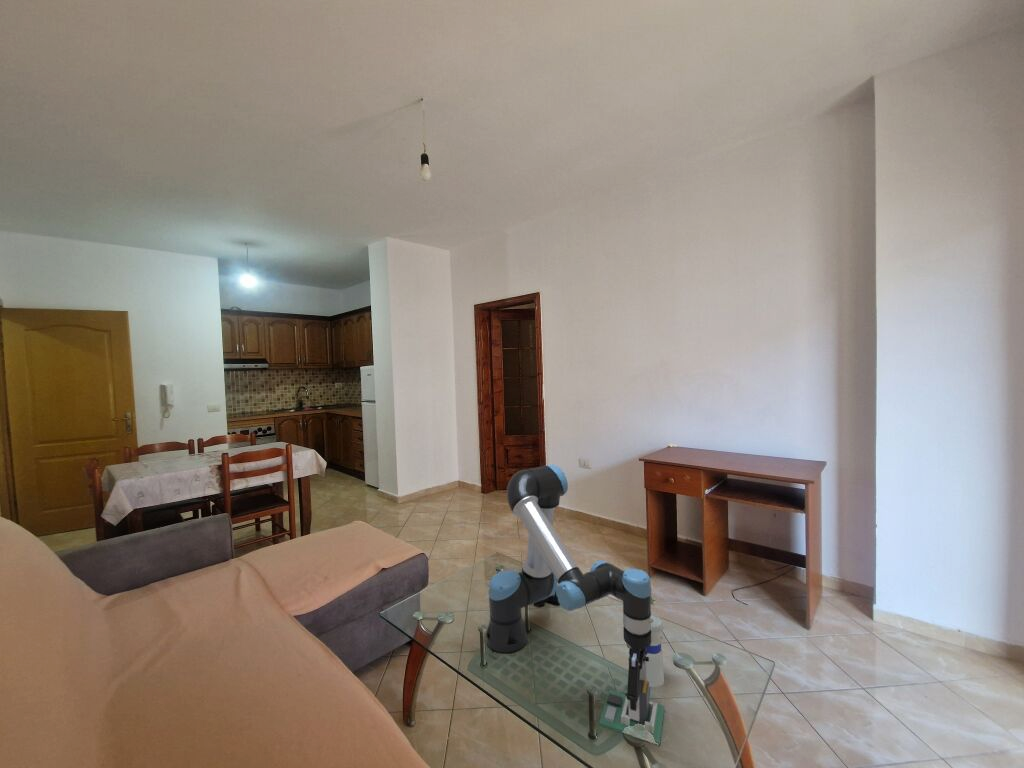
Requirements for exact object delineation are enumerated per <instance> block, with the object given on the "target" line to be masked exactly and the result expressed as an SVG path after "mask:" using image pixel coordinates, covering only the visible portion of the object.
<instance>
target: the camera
mask: <svg viewBox="0 0 1024 768" xmlns="http://www.w3.org/2000/svg"><path fill="white" fill-rule="evenodd" d="M546 603H554V604H560V603H559V602H558V597H557V595H556V591H555V593H554V594H553V595H552V596H550V597H548V598H547V599H545V600H541V601H539V602H536V603H533V605H534V608H535V607H536V608H540V607H541V606H544V605H545V604H546Z"/></svg>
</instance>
